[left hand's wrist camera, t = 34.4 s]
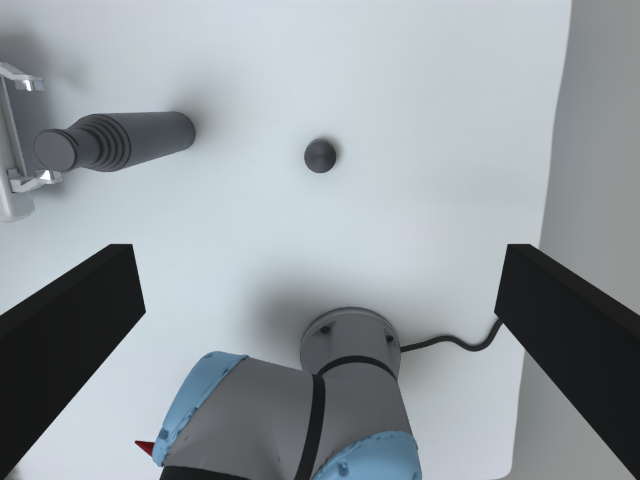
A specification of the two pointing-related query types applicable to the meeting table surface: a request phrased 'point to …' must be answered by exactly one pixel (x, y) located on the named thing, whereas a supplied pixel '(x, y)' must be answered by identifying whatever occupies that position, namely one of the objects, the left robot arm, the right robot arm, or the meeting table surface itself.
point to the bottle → (114, 141)
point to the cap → (320, 156)
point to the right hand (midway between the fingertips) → (49, 131)
